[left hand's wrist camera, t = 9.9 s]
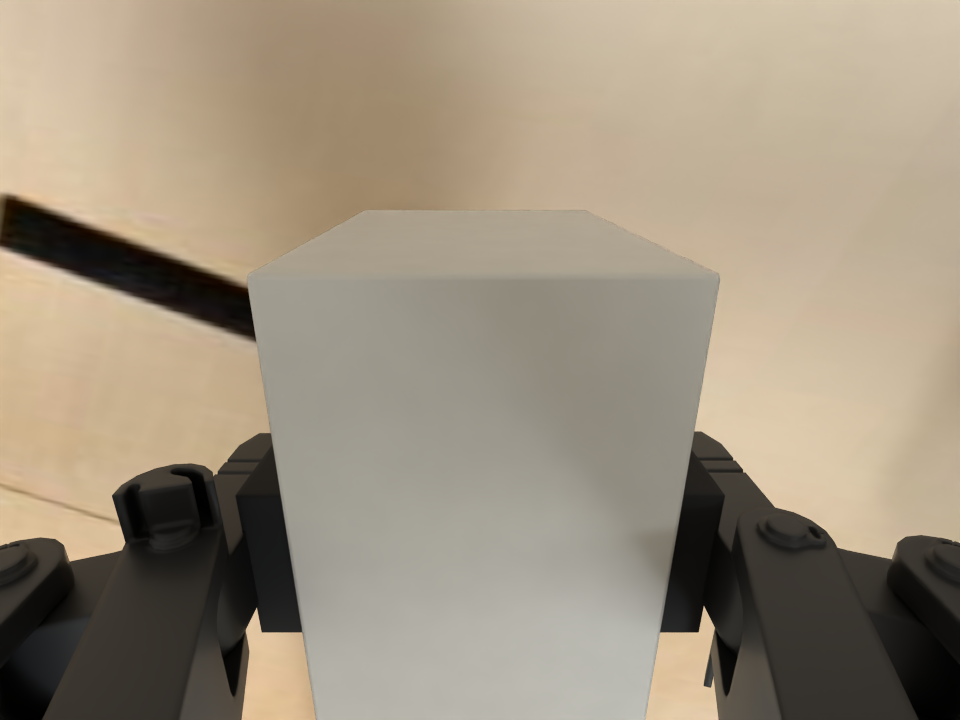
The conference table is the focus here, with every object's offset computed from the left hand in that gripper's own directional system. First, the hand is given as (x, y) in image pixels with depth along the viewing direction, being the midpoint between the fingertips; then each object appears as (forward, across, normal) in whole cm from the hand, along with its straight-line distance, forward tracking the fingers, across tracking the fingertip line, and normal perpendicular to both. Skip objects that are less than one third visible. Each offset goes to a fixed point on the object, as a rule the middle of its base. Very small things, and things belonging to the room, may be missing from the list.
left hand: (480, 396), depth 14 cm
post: (+1, 0, -35) cm, 35 cm away
